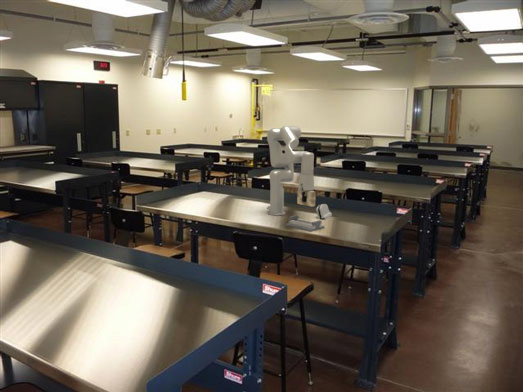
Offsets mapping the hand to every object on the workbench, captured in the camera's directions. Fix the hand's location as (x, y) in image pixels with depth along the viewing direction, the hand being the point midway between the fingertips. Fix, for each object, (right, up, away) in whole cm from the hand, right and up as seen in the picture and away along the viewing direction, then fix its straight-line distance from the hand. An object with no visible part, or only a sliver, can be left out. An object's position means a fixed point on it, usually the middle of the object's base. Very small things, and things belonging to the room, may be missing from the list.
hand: (306, 201), depth 282 cm
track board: (-1, -16, +3) cm, 16 cm away
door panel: (0, -2, 0) cm, 2 cm away
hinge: (+15, -12, +32) cm, 38 cm away
